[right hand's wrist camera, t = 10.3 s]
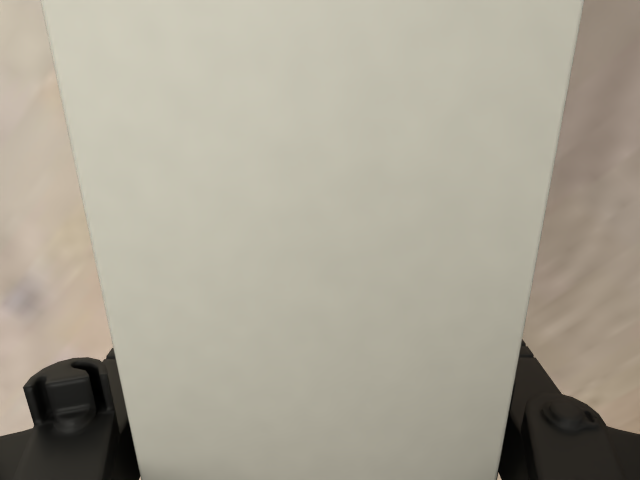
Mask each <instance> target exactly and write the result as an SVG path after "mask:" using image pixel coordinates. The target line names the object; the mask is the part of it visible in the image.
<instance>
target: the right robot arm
mask: <svg viewBox="0 0 640 480" xmlns="http://www.w3.org/2000/svg"><path fill="white" fill-rule="evenodd" d="M106 357H107V358H106V359H104V360H103V362H101V361H100V360H97V359H93V358H89V357H86V358H72V359H68V360H64V361H60V362H57V363H55V364H53V365H50V366H48V367H46V368H44V369H42V370H41V371H39V372H38V373H36V374H35V375H34V376H32V377H31V378H30V379H29V380H28V382H27V383H26V384H25V385H24V387H23V389H24V392H25V396H26V399H27V403H28V406H29V409H30V413H31V416H32V419H33V423H34V427H33V428H32V429H29V430H25V431H22V432H17V433H13V434H8V435H4V436H0V480H139V478H140V471H139V466H138V462H137V457H136V452H135V447H134V443H133V438H132V433H131V428H130V424H129V419H128V414H127V409H126V405H125V400H124V395H123V390H122V386H121V381H120V376H119V371H118V367H117V362H116V357H115V352H114V348H112V349H111V351H110V352H109V354H108V355H107V356H106ZM498 472H499V474H500V477H501V479H502V480H640V434H635V433H631V432H627V431H622V430H618V429H614V428H611V427H608V426H606V424H605V423H604V421H603V420H602V418H601V417H600V415H599V414H598V413H597V412H596V411H594V410H593V409H592V408H591V407H589V406H588V405H587V404H585V403H583V402H581V401H579V400H577V399H575V398H573V397H570V396H566V395H563V394H561V392H560V391H559V390H558V388H557V387H556V385H555V384H554V383H553V381H552V380H551V378H550V377H549V376H548V374H547V373H546V371H545V370H544V369H543V367H542V366H541V365H540V363H539V362H538V360H537V359H536V358H534V357H533V353H532V352H531V351H530V349H529V348H528V347H527V346H526V344H525V342H524V341H523V340H522V342H521V347H520V352H519V358H518V363H517V369H516V374H515V380H514V385H513V391H512V396H511V402H510V407H509V412H508V418H507V423H506V429H505V434H504V440H503V445H502V451H501V456H500V462H499V467H498ZM498 472H497V476H498ZM496 480H497V478H496Z"/></svg>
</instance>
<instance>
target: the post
mask: <svg viewBox="0 0 640 480" xmlns="http://www.w3.org/2000/svg"><path fill="white" fill-rule="evenodd" d="M40 1H41V5H42V10H43V15H44V20H45V24H46V29H47V34H48V39H49V43H50V48H51V53H52V58H53V62H54V67H55V72H56V77H57V81H58V86H59V91H60V96H61V100H62V105H63V110H64V115H65V119H66V124H67V129H68V134H69V138H70V143H71V148H72V153H73V157H74V162H75V167H76V172H77V176H78V181H79V186H80V191H81V195H82V200H83V205H84V210H85V215H86V219H87V224H88V229H89V234H90V238H91V243H92V248H93V253H94V257H95V262H96V267H97V272H98V276H99V281H100V286H101V291H102V295H103V300H104V305H105V310H106V314H107V319H108V324H109V329H110V333H111V338H112V343H113V348H114V352H115V357H116V362H117V367H118V371H119V376H120V381H121V386H122V390H123V395H124V400H125V405H126V409H127V414H128V419H129V424H130V428H131V433H132V438H133V443H134V447H135V452H136V457H137V462H138V466H139V471H140V476H141V480H496V478H497V472H498V467H499V462H500V456H501V451H502V445H503V440H504V434H505V429H506V423H507V418H508V412H509V407H510V402H511V396H512V391H513V385H514V380H515V374H516V369H517V363H518V358H519V352H520V347H521V342H522V336H523V331H524V325H525V320H526V314H527V309H528V303H529V298H530V293H531V287H532V282H533V276H534V271H535V265H536V260H537V254H538V249H539V243H540V238H541V233H542V227H543V222H544V216H545V211H546V205H547V200H548V194H549V189H550V184H551V178H552V173H553V167H554V162H555V156H556V151H557V145H558V140H559V134H560V129H561V124H562V118H563V113H564V107H565V102H566V96H567V91H568V85H569V80H570V75H571V69H572V64H573V58H574V53H575V47H576V42H577V36H578V31H579V25H580V20H581V15H582V9H583V4H584V0H40Z"/></svg>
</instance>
